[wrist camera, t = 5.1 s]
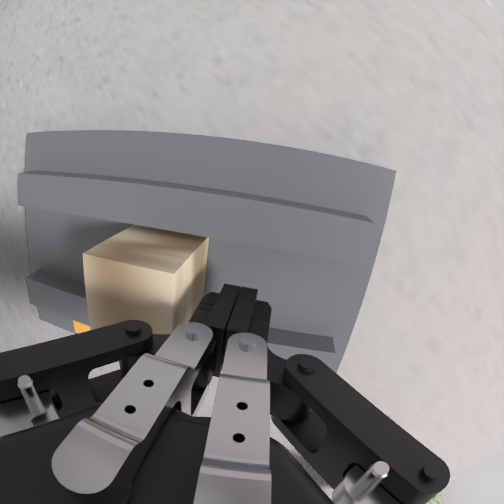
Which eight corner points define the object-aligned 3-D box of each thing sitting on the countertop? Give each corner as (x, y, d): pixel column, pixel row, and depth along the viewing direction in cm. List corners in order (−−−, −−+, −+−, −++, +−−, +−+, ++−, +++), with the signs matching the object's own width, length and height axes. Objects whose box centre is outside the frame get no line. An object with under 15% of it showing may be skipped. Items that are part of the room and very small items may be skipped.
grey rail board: (386, 168, 14) (406, 173, 12) (325, 379, 19) (328, 410, 16) (41, 132, 16) (11, 133, 13) (50, 310, 21) (28, 327, 18)
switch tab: (209, 235, 15) (173, 273, 10) (202, 311, 17) (172, 368, 12) (137, 222, 15) (82, 253, 11) (137, 295, 17) (92, 342, 12)
